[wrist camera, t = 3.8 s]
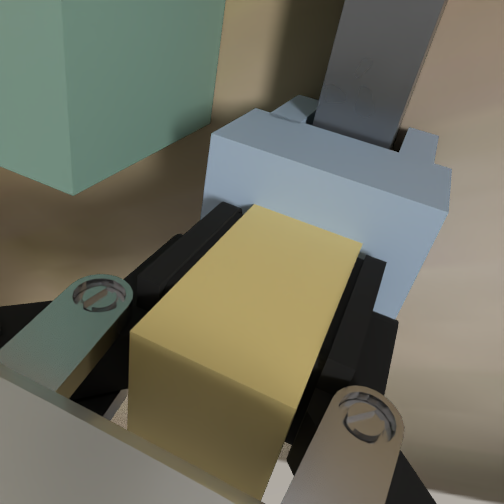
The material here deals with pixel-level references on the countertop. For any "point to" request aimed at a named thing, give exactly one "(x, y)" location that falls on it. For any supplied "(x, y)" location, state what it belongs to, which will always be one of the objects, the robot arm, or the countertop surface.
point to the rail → (376, 67)
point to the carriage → (276, 283)
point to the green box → (102, 83)
